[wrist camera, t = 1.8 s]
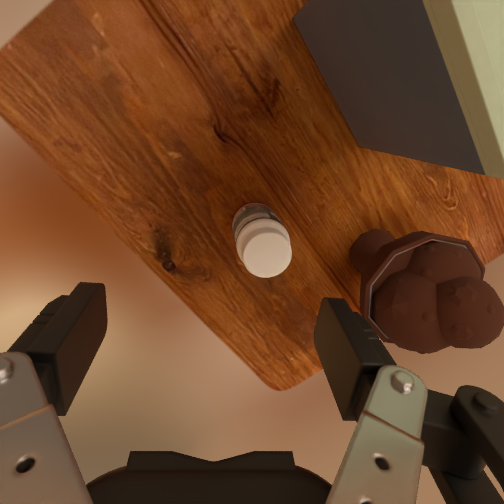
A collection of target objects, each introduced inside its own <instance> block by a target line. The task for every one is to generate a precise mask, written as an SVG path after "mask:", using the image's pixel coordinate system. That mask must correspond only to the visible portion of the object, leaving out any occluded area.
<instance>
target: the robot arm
mask: <svg viewBox="0 0 504 504" xmlns="http://www.w3.org/2000/svg"><path fill="white" fill-rule="evenodd" d="M106 330H107V306H106V291H105V286H104V284H103V283H87V282H80V283H79V284H78V285H77V286H76V287H75V289H74V290H73V291H72V292H71V294H70V295H69V296H68V295H61V296H60V297H58V298H56V299H55V300H53V301H51V302H50V303H48V304H47V305H46V306H45V308H44V309H43V310H42V311H41V312H40V315H38V316H37V317H36V318H35V319H34V320H33V323H32V324H30V325H29V326H28V327H27V329H26V330H25V331H24V332H23V333H22V334H21V336H20V337H19V338H18V339H17V340H16V341H15V343H14V344H13V345H12V346H11V347H10V348H9V350H8V351H7V352H4V353H0V504H416V497H417V492H418V485H419V478H420V472H421V466H422V465H424V466H427V467H428V468H429V470H430V472H431V474H432V476H433V478H434V480H435V482H436V484H437V486H438V488H439V490H440V492H441V494H442V496H443V498H444V500H445V502H446V504H504V501H503V499H502V497H501V496H500V494H499V493H498V491H497V490H496V488H495V487H494V485H493V484H492V482H491V481H490V479H489V478H488V476H487V475H486V473H485V471H484V470H483V469H484V467H485V466H486V464H487V466H488V467H489V469H490V470H491V472H492V473H493V475H494V476H495V478H496V479H497V481H498V482H499V483H500V485H501V487H502V489H503V492H504V402H503V401H501V400H500V399H499V398H498V397H496V396H495V395H493V394H492V393H490V392H488V391H486V390H484V389H482V388H479V387H475V386H470V385H465V386H461V387H459V388H458V390H457V392H456V394H455V396H450V395H447V394H443V393H439V392H436V391H432V390H429V389H427V387H426V385H425V383H424V382H423V380H422V379H421V378H420V377H419V376H417V375H416V374H415V373H413V372H412V371H410V370H408V369H406V368H404V367H400V366H397V364H396V363H395V361H394V360H393V358H392V357H391V355H390V354H389V352H388V351H387V349H386V348H385V346H384V345H383V343H382V342H381V340H379V337H378V336H377V334H376V333H375V332H374V330H373V328H372V327H371V325H370V324H369V322H368V321H367V320H366V319H365V318H364V317H362V316H361V315H360V314H359V313H357V312H352V310H351V309H350V307H349V305H348V304H347V302H346V301H345V299H343V298H326V297H325V298H323V300H322V302H321V306H320V310H319V314H318V318H317V322H316V326H315V330H314V344H315V348H316V350H317V353H318V356H319V358H320V361H321V364H322V366H323V369H324V372H325V374H326V377H327V379H328V382H329V385H330V387H331V390H332V393H333V395H334V398H335V400H336V403H337V406H338V409H339V411H340V414H341V416H342V419H343V420H345V421H356V422H357V425H356V427H355V430H354V433H353V435H352V438H351V440H350V443H349V445H348V448H347V450H346V453H345V455H344V458H343V460H342V463H341V465H340V468H339V470H338V473H337V475H336V478H335V480H334V483H333V485H331V484H330V483H328V482H327V481H326V480H325V479H323V478H322V477H320V476H319V475H317V474H315V473H313V472H311V471H309V470H307V469H304V468H302V467H299V466H296V465H295V463H294V458H293V453H292V451H253V452H249V453H246V454H242V455H238V456H235V457H231V458H228V459H224V460H220V461H215V462H214V461H213V462H212V461H207V460H203V459H200V458H196V457H192V456H188V455H184V454H181V453H177V452H173V451H131V452H130V454H129V458H128V462H127V466H124V467H120V468H117V469H115V470H112V471H109V472H107V473H105V474H103V475H101V476H99V477H97V478H96V479H95V480H93V481H91V482H89V483H88V484H87V485H85V482H84V480H83V477H82V475H81V472H80V470H79V467H78V465H77V462H76V460H75V457H74V455H73V452H72V450H71V448H70V445H69V443H68V440H67V438H66V435H65V433H64V430H63V428H62V425H61V423H60V421H59V418H58V416H65V415H66V413H67V411H68V409H69V407H70V405H71V403H72V401H73V399H74V397H75V395H76V393H77V391H78V389H79V387H80V385H81V383H82V381H83V379H84V377H85V375H86V373H87V371H88V369H89V367H90V365H91V363H92V361H93V359H94V357H95V355H96V353H97V351H98V349H99V347H100V345H101V343H102V341H103V339H104V337H105V334H106Z"/></svg>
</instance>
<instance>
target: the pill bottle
mask: <svg viewBox="0 0 504 504" xmlns="http://www.w3.org/2000/svg"><path fill="white" fill-rule="evenodd" d="M232 230H233V234H234V238H235V243H236V249H237V253H238V255H239V257H240V259H241V260H242V262H243V263H244V265H245V267H246V268H247V270H248V271H249V272H251V273H252V274H253V275H255V276H258V277H263V278H269V277H273V276H276V275H278V274H280V273H281V272H283V271H284V270H285V269H286V268H287V266H288V265H289V263H290V261H291V257H292V250H291V246H290V238H289V234H288V232H287V230H286V229H285V227H284V226H283V224H282V223H281V221H280V220H279V218H278V217H277V215H276V214H275V212H274V211H273V210H272V209H271V208H270V207H268V206H267V205H265V204H261V203H250V204H247V205H245V206H243V207H242V208H240V209H239V210H238V211H237V213H236V214H235V216H234V218H233V222H232Z"/></svg>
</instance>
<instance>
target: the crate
mask: <svg viewBox="0 0 504 504" xmlns="http://www.w3.org/2000/svg"><path fill="white" fill-rule="evenodd" d="M293 21H294V23H295V25H296V27H297V28H298V30H299V32H300V34H301V36H302V38H303V40H304V42H305V44H306V46H307V48H308V50H309V51H310V53H311V55H312V57H313V59H314V61H315V63H316V65H317V67H318V69H319V71H320V72H321V74H322V76H323V78H324V80H325V82H326V84H327V86H328V88H329V90H330V92H331V94H332V95H333V97H334V99H335V101H336V103H337V105H338V107H339V109H340V111H341V113H342V115H343V117H344V118H345V120H346V122H347V124H348V126H349V128H350V130H351V132H352V134H353V136H354V138H355V139H356V141H357V143H358V145H359V147H363V148H367V149H371V150H376V151H380V152H385V153H389V154H394V155H398V156H402V157H407V158H411V159H416V160H420V161H424V162H429V163H433V164H438V165H442V166H447V167H451V168H455V169H460V170H464V171H469V172H473V173H478V174H482V175H485V172H484V169H483V166H482V163H481V161H480V158H479V155H478V152H477V150H476V147H475V144H474V141H473V139H472V136H471V133H470V130H469V128H468V125H467V122H466V119H465V117H464V114H463V111H462V108H461V106H460V103H459V100H458V97H457V94H456V92H455V89H454V86H453V83H452V81H451V78H450V75H449V72H448V70H447V67H446V64H445V61H444V59H443V56H442V53H441V50H440V48H439V45H438V42H437V39H436V36H435V34H434V31H433V28H432V25H431V23H430V20H429V17H428V14H427V12H426V9H425V6H424V3H423V1H422V0H308V1H307V2H306V4H305V5H304V6H303V7H302V8H301V9H300V10H299V11H298V12H297V13H296V15H295V16H294V17H293Z"/></svg>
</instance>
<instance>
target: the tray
mask: <svg viewBox="0 0 504 504" xmlns="http://www.w3.org/2000/svg"><path fill="white" fill-rule="evenodd" d="M422 1H423V3H424V6H425V9H426V12H427V14H428V17H429V20H430V23H431V25H432V28H433V31H434V34H435V36H436V39H437V42H438V45H439V48H440V50H441V53H442V56H443V59H444V61H445V64H446V67H447V70H448V72H449V75H450V78H451V81H452V83H453V86H454V89H455V92H456V94H457V97H458V100H459V103H460V106H461V108H462V111H463V114H464V117H465V119H466V122H467V125H468V128H469V130H470V133H471V136H472V139H473V141H474V144H475V147H476V150H477V152H478V155H479V158H480V161H481V163H482V166H483V169H484V172H485V175H486V176H490V177H495V178H500V179H504V0H422Z"/></svg>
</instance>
